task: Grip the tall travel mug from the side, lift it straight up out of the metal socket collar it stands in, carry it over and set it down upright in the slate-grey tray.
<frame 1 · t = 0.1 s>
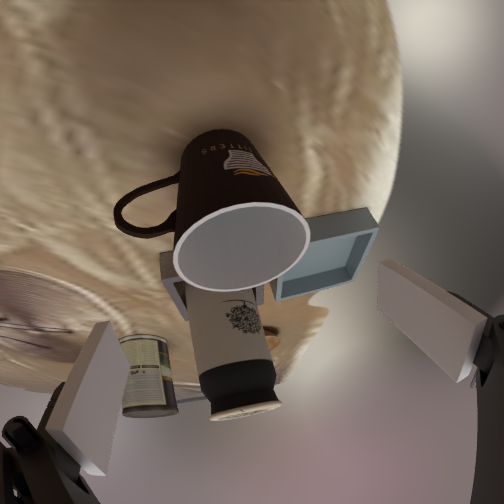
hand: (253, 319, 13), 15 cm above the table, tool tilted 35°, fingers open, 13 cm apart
coffee mug: (204, 152, 23), on the table
travel mug: (213, 268, 36), resting in socket collar
coffee can: (141, 343, 50), on the table
plant saucer: (245, 337, 60), on the table
tray: (315, 247, 37), on the table
socket collar: (214, 270, 36), on the table
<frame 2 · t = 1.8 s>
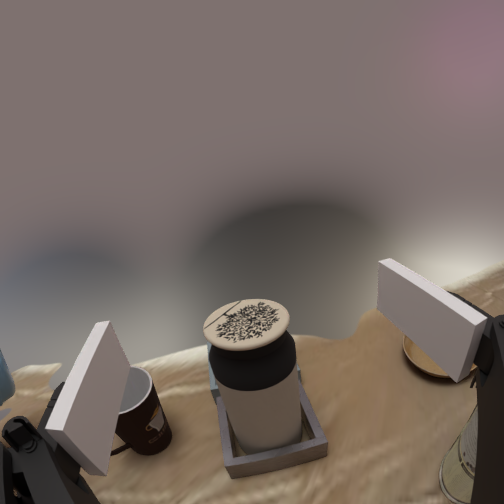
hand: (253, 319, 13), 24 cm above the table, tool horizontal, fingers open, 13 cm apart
coffee mug: (142, 444, 30), on the table
travel mug: (270, 435, 30), resting in socket collar
coffee can: (475, 470, 16), on the table
plant saucer: (442, 356, 36), on the table
socket collar: (269, 435, 30), on the table
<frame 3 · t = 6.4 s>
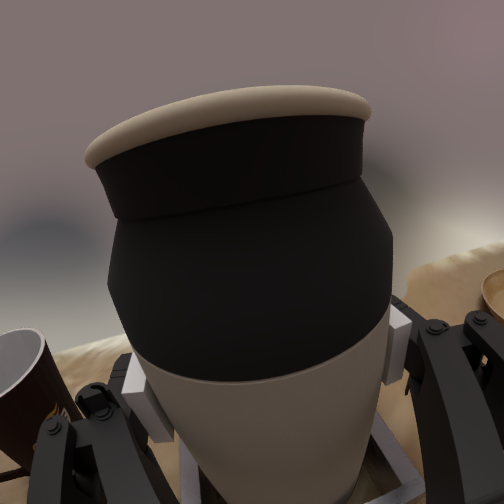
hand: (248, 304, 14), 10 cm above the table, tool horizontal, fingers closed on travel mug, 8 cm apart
coffee mug: (59, 471, 12), on the table
travel mug: (289, 478, 13), resting in socket collar, touching gripper
socket collar: (289, 477, 13), on the table
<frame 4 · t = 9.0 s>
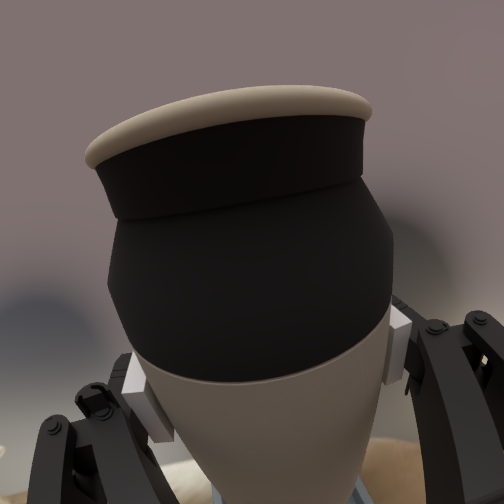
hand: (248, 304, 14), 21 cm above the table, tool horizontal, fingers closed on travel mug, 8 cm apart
travel mug: (289, 478, 13), point 11 cm above the table, touching gripper
when the fingers open (12 cm above the table, at t = 11.5 s): travel mug drops 1 cm, resting on tray.
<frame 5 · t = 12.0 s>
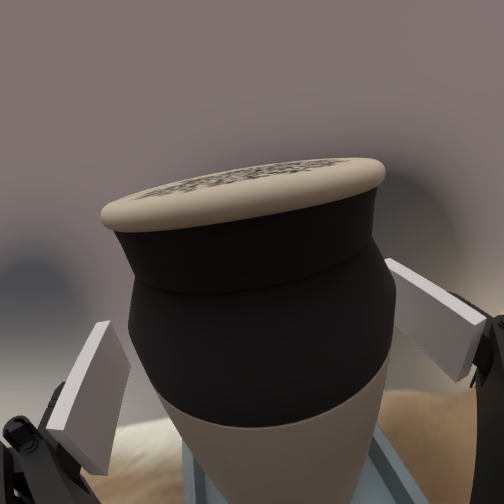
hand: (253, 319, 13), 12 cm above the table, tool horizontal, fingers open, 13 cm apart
travel mug: (292, 487, 13), point 1 cm above the table, touching tray
tray: (291, 489, 14), on the table
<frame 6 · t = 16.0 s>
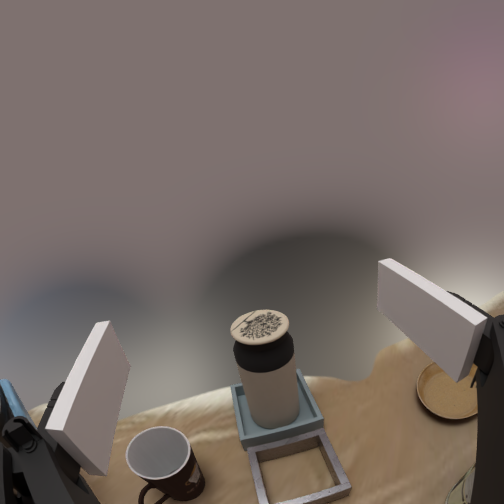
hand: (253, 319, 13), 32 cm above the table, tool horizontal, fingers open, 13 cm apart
coffee mug: (177, 490, 29), on the table
travel mug: (275, 412, 41), point 1 cm above the table, touching tray
coffee can: (475, 501, 15), on the table
plant saucer: (451, 395, 35), on the table
tray: (275, 413, 42), on the table
socket collar: (297, 478, 29), on the table
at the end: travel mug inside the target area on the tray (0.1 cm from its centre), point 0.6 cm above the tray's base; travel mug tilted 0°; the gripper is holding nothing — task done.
